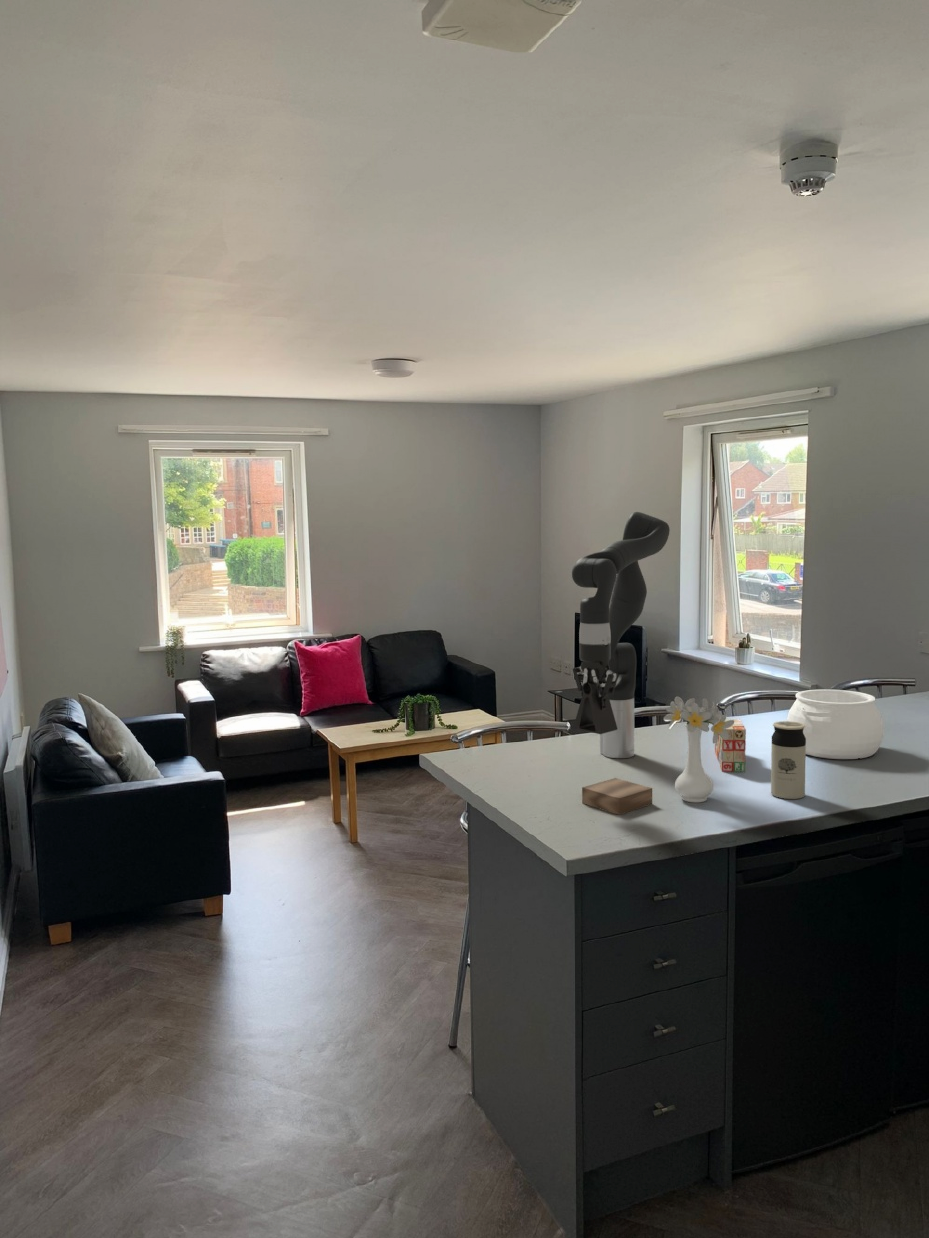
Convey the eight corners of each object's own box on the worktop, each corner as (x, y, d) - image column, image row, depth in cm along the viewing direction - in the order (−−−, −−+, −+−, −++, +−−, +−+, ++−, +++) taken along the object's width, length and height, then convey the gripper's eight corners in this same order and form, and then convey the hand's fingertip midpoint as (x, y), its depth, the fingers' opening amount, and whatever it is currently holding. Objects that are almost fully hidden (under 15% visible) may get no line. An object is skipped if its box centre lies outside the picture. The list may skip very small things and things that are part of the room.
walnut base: (582, 803, 224) (582, 787, 223) (615, 793, 231) (615, 777, 231) (619, 814, 214) (619, 798, 214) (652, 804, 222) (652, 788, 221)
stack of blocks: (714, 752, 269) (714, 711, 268) (736, 753, 268) (736, 712, 267) (721, 772, 248) (722, 728, 247) (745, 772, 247) (746, 728, 246)
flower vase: (714, 813, 213) (715, 709, 211) (650, 797, 227) (650, 698, 224) (744, 801, 222) (745, 700, 219) (681, 786, 236) (681, 691, 233)
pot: (854, 768, 248) (856, 709, 246) (767, 751, 268) (767, 697, 266) (900, 749, 267) (902, 694, 265) (815, 735, 287) (816, 684, 285)
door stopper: (573, 728, 224) (572, 680, 223) (589, 724, 228) (589, 677, 226) (601, 734, 217) (601, 685, 216) (617, 730, 221) (617, 681, 220)
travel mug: (777, 788, 232) (778, 719, 230) (809, 793, 227) (810, 723, 225) (766, 796, 226) (766, 725, 224) (798, 802, 221) (799, 729, 219)
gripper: (563, 639, 223) (564, 708, 225) (605, 645, 212) (605, 717, 214) (585, 636, 228) (586, 704, 230) (627, 642, 217) (627, 713, 219)
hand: (595, 710), depth 222 cm, fingers closed on door stopper, 3 cm apart
